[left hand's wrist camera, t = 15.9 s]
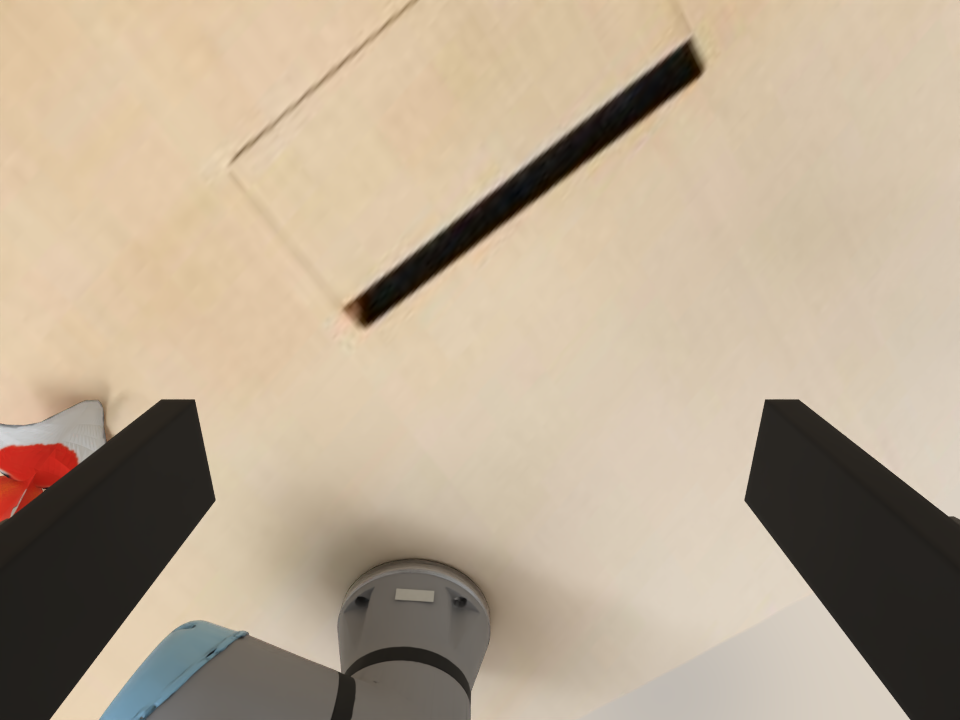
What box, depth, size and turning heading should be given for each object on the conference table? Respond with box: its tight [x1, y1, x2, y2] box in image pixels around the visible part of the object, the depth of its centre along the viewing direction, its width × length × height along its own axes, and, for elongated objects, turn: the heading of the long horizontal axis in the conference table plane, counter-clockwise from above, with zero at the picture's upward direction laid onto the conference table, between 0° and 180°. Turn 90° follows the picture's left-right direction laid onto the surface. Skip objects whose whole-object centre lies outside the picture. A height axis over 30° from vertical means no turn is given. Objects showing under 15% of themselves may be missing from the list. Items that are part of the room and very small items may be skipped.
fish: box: [0, 400, 107, 522], centre depth 45 cm, size 11×16×10 cm
